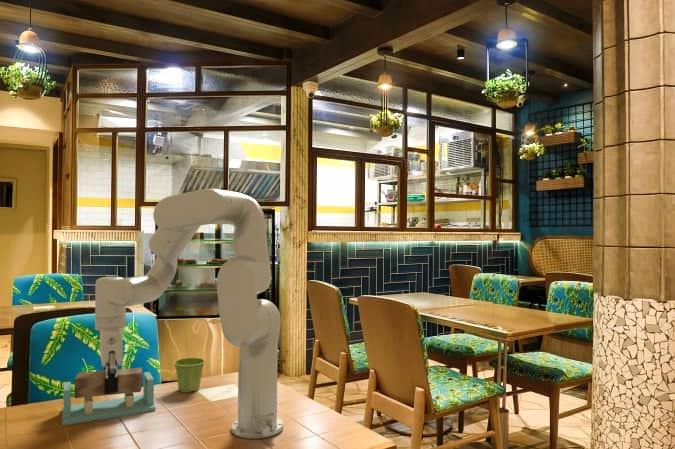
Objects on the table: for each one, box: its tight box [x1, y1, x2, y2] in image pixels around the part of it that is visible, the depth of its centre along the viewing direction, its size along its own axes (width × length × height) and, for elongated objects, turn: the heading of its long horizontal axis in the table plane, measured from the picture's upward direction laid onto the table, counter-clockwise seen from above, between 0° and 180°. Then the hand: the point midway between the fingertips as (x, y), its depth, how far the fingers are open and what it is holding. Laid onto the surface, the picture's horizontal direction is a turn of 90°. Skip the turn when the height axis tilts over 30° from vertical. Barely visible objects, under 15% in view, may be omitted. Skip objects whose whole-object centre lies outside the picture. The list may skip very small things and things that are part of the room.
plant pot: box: [173, 357, 206, 393], centre depth 152 cm, size 9×9×9 cm
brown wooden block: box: [74, 367, 143, 399], centre depth 134 cm, size 16×6×5 cm, turn 108°
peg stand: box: [61, 371, 156, 426], centre depth 134 cm, size 22×12×8 cm, turn 119°
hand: (110, 388), depth 134 cm, fingers closed on brown wooden block, 6 cm apart
